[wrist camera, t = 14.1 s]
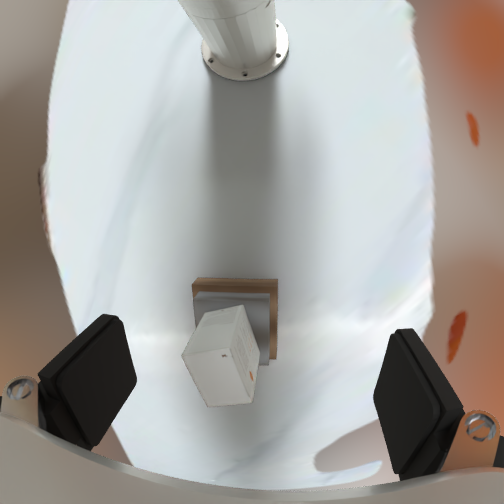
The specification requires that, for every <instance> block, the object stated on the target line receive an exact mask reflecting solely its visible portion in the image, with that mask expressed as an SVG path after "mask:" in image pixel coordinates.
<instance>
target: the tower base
mask: <svg viewBox="0 0 504 504" xmlns="http://www.w3.org/2000/svg"><path fill="white" fill-rule="evenodd" d="M192 292H193V306H194V315H195V324H196V328H197V326H198V324H199V322H200V321H201V319H202V317H203V315H204V313H206V312H211V311H215V310H220V309H225V308H229V307H234V306H239V305H244V308H245V311H246V314H247V317H248V320H249V323H250V325H251V328H252V331H253V334H254V337H255V340H256V343H257V345H258V348H259V351H260V357H259V364H258V365H269V359H276V355H277V317H278V279H229V278H197V279H196V280H195V281H194V283H193V284H192Z"/></svg>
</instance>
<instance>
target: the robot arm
mask: <svg viewBox="0 0 504 504" xmlns="http://www.w3.org/2000/svg"><path fill="white" fill-rule="evenodd" d="M178 2H179V3H180V4H181V6H182V7H183V9H184V10H185V12H186V13H187V15H188V16H189V18H190V19H191V21H192V22H193V24H194V25H195V27H196V28H197V30H198V31H199V33H200V34H201V36H202V37H203V40H202V45H201V50H202V55H203V58H204V60H205V62H206V64H207V65H208V66H209V67H210V69H211V70H213V71H214V72H215V73H216V74H218V75H220V76H222V77H224V78H227V79H230V80H237V81H248V80H254V79H258V78H261V77H264V76H266V75H268V74H269V73H271V72H273V71H274V70H275V69H277V68H278V67H279V66H280V65H281V63H282V62H283V61H284V59H285V57H286V55H287V52H288V46H289V42H288V35H287V32H286V30H285V28H284V27H283V25H282V24H281V23H280V22H279V21H278V20H276V14H275V3H274V0H178ZM277 57H280V58H277ZM211 62H213V63H211ZM245 74H246V75H247V76H244V75H245ZM38 376H39V378H40V380H41V381H40V382H39V383H37V381H36V380H35V379H34V378H32V377H30V376H19V377H16V378H14V379H12V380H11V381H9V382H8V383H7V384H6V386H5V387H4V390H3V395H2V396H0V504H504V437H503V436H500V425H499V422H498V421H497V419H496V418H495V417H494V416H493V415H492V414H490V413H488V412H486V411H482V410H472V411H470V412H467V413H466V414H465V412H464V410H463V405H462V403H461V402H460V400H459V398H458V397H457V395H456V393H455V392H454V390H453V388H452V387H451V385H450V383H449V382H448V380H447V379H446V377H445V376H444V374H443V373H442V371H441V369H440V368H439V366H438V365H437V363H436V362H435V360H434V359H433V357H432V355H431V354H430V352H429V351H428V350H427V348H426V346H425V345H424V344H423V342H422V341H421V339H420V338H419V336H418V335H417V333H416V332H415V331H414V329H412V328H410V329H397V330H396V331H395V334H391V335H390V338H389V342H388V346H387V350H386V353H385V357H384V361H383V364H382V368H381V371H380V374H379V378H378V381H377V384H376V387H375V390H374V395H373V400H374V404H375V407H376V410H377V414H378V417H379V420H380V424H381V427H382V431H383V434H384V438H385V441H386V445H387V449H388V452H389V456H390V460H391V464H392V468H393V471H394V473H395V474H399V478H400V481H398V482H392V483H386V484H380V485H373V486H365V487H357V488H349V489H337V490H322V491H271V490H254V489H242V488H233V487H225V486H217V485H211V484H205V483H199V482H193V481H188V480H183V479H179V478H174V477H170V476H166V475H162V474H158V473H154V472H150V471H147V470H143V469H140V468H136V467H133V466H130V465H127V464H123V463H120V462H117V461H115V460H112V459H109V458H106V457H104V456H101V455H98V454H95V453H93V452H91V450H92V448H93V447H94V446H97V445H98V444H99V443H100V441H101V439H102V438H103V436H104V435H105V433H106V431H107V430H108V428H109V427H110V425H111V423H112V422H113V420H114V419H115V417H116V415H117V414H118V412H119V411H120V409H121V408H122V406H123V404H124V403H125V401H126V400H127V398H128V397H129V395H130V394H131V392H132V390H133V389H134V387H135V386H136V383H137V376H136V373H135V369H134V366H133V362H132V358H131V354H130V350H129V346H128V342H127V338H126V334H125V330H124V325H123V322H122V321H121V320H120V319H119V318H118V317H117V316H115V315H108V314H102V315H101V316H100V317H98V318H97V319H96V320H95V321H94V322H93V323H92V324H91V325H89V326H88V327H87V328H86V329H85V330H84V331H83V332H82V333H81V334H79V335H78V336H77V337H76V338H75V339H74V340H73V341H72V342H71V343H70V344H69V345H67V346H66V347H65V348H64V349H63V350H62V351H61V352H60V353H59V354H58V355H57V356H56V357H55V358H53V360H51V362H49V363H48V364H47V365H46V366H45V367H44V368H43V369H42V370H41V371H40V372H39V373H38Z"/></svg>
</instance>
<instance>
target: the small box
mask: <svg viewBox="0 0 504 504" xmlns="http://www.w3.org/2000/svg"><path fill="white" fill-rule="evenodd" d="M181 356H182V358H183V360H184V362H185V364H186V367H187V369H188V370H189V372H190V374H191V376H192V378H193V380H194V382H195V384H196V386H197V388H198V390H199V392H200V394H201V396H202V397H203V399H204V401H205V403H206V405H207V407H218V406H229V405H239V404H247V403H252V402H253V398H254V392H255V385H256V378H257V371H258V364H259V357H260V351H259V348H258V345H257V343H256V340H255V337H254V334H253V331H252V328H251V325H250V323H249V320H248V317H247V314H246V311H245V308H244V305H239V306H234V307H229V308H225V309H220V310H215V311H211V312H206V313H204V315H203V317H202V319H201V321H200V322H199V324H198V326H197V328H196V330H195V331H194V333H193V335H192V337H191V339H190V341H189V342H188V344H187V346H186V348H185V350H184V352H183V353H182V355H181Z"/></svg>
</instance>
